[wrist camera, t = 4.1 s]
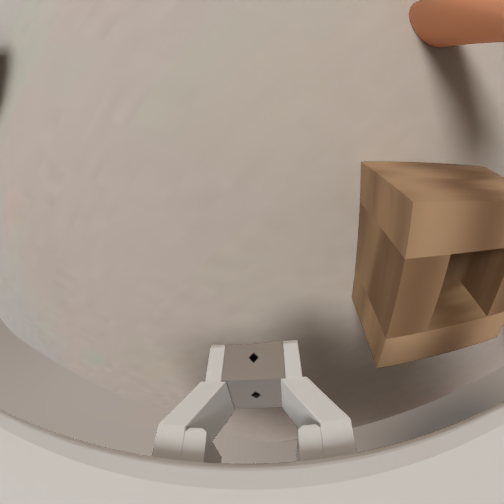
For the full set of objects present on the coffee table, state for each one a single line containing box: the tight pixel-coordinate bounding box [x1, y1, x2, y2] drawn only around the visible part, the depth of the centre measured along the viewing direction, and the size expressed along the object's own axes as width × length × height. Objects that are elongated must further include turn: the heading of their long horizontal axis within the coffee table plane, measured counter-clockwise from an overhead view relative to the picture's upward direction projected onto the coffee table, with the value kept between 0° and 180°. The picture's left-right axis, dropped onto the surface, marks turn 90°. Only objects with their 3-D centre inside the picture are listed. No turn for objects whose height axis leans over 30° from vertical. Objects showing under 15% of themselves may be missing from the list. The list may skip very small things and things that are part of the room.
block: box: [352, 162, 504, 368], centre depth 13 cm, size 9×9×6 cm
